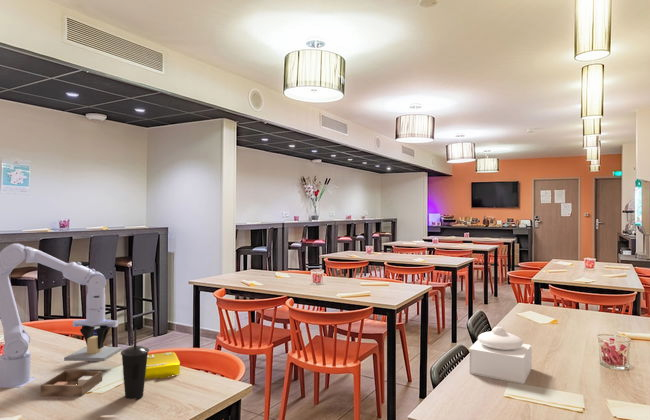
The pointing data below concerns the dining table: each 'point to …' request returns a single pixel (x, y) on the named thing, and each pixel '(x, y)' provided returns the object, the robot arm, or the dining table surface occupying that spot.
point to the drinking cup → (134, 369)
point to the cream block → (83, 379)
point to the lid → (93, 352)
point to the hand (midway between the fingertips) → (95, 347)
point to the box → (71, 383)
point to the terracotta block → (61, 383)
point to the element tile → (162, 365)
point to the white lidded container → (501, 356)
